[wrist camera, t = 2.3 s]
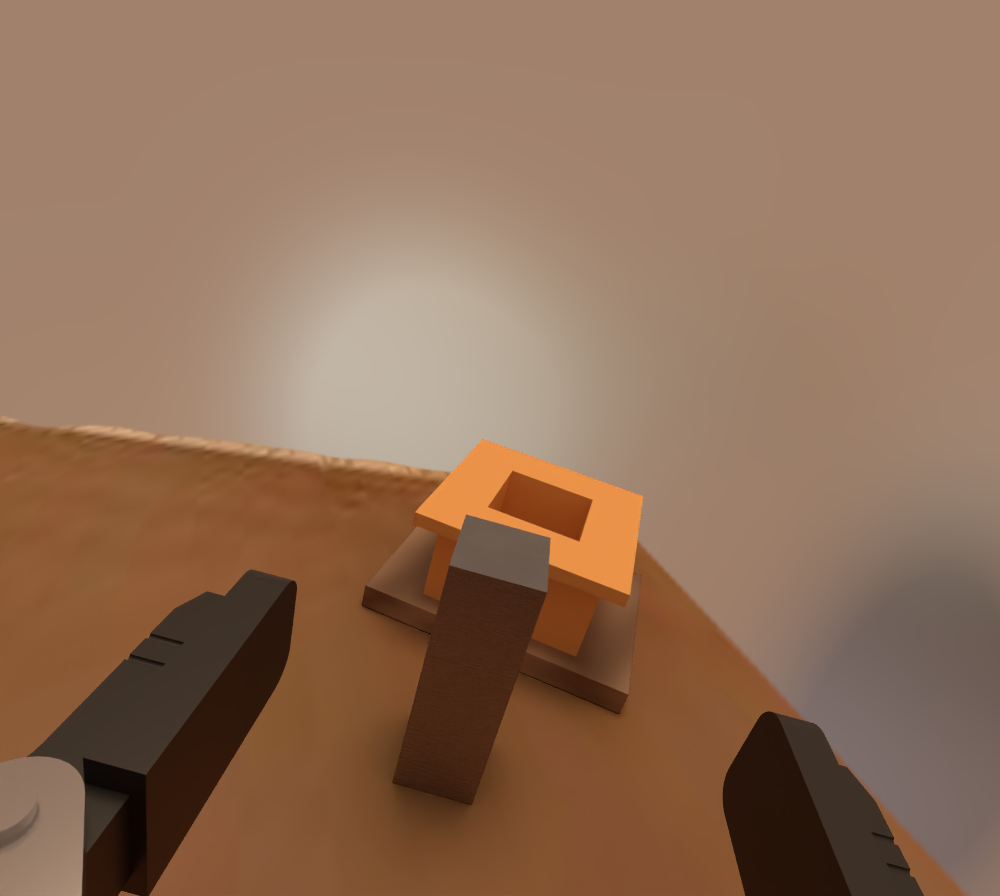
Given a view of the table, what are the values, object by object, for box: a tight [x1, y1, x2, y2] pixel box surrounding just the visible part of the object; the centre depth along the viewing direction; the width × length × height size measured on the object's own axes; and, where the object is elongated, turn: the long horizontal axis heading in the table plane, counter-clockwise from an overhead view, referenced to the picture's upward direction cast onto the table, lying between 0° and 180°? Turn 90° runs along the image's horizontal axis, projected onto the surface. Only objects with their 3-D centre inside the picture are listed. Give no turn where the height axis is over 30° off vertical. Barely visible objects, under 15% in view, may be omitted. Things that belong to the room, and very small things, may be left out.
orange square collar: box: [413, 439, 643, 657], centre depth 37 cm, size 12×12×6 cm
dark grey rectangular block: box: [393, 514, 551, 805], centre depth 25 cm, size 4×4×12 cm
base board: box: [362, 526, 641, 713], centre depth 38 cm, size 16×12×2 cm
